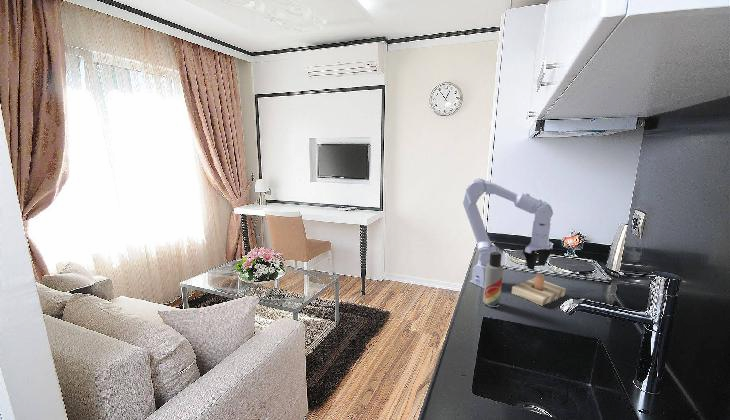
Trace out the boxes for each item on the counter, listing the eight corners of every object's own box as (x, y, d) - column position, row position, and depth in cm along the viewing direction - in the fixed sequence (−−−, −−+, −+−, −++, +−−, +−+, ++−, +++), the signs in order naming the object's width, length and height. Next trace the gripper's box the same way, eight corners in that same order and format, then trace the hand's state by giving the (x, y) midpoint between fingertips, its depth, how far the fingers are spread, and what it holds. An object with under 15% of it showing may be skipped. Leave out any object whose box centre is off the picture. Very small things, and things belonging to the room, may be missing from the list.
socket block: (542, 306, 113) (543, 299, 112) (511, 293, 123) (512, 286, 122) (564, 295, 121) (565, 288, 121) (534, 284, 131) (535, 277, 131)
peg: (538, 297, 120) (541, 277, 118) (531, 293, 123) (533, 274, 121) (544, 295, 122) (546, 276, 120) (536, 292, 124) (538, 273, 123)
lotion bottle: (496, 310, 111) (501, 256, 107) (480, 304, 114) (484, 253, 110) (501, 304, 115) (506, 252, 111) (486, 299, 119) (490, 249, 115)
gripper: (540, 239, 113) (535, 274, 116) (561, 233, 120) (556, 266, 123) (521, 234, 119) (517, 268, 122) (543, 229, 126) (538, 261, 129)
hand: (536, 267), depth 123 cm, fingers open, 7 cm apart
